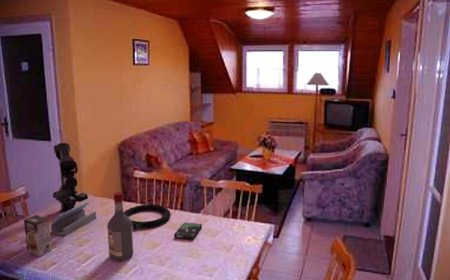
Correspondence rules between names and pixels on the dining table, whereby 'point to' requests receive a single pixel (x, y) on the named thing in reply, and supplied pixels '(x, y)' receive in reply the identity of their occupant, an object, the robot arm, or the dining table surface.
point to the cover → (70, 212)
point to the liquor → (120, 232)
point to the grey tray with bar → (72, 223)
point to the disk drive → (188, 231)
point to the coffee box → (37, 235)
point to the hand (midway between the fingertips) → (71, 211)
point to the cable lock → (148, 223)
